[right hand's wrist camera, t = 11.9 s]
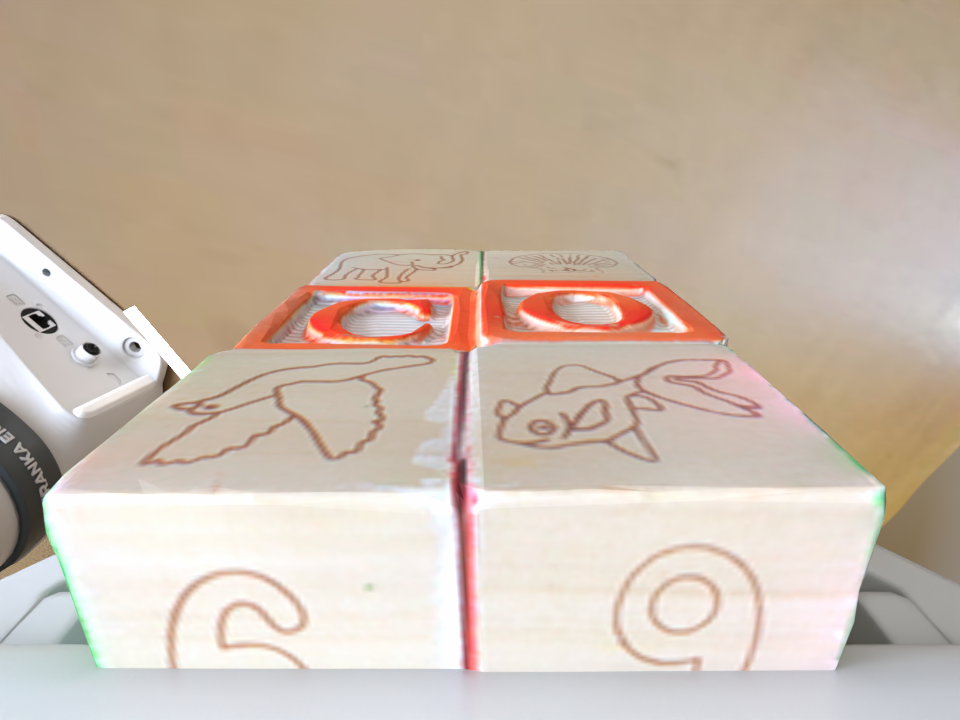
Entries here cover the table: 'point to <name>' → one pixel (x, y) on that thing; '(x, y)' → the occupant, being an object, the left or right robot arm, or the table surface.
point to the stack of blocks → (470, 487)
